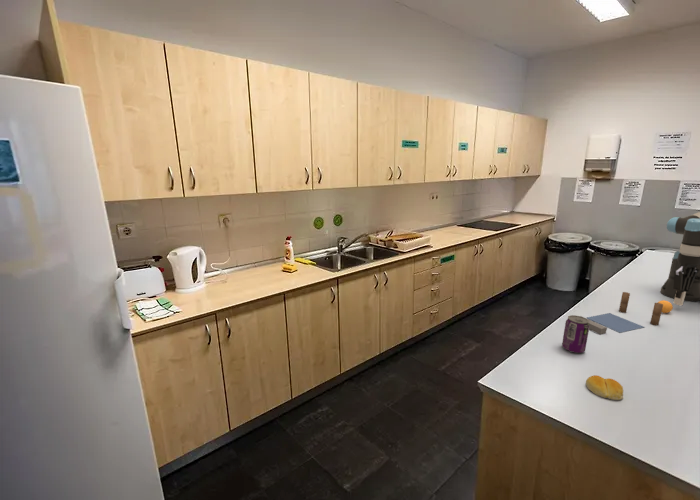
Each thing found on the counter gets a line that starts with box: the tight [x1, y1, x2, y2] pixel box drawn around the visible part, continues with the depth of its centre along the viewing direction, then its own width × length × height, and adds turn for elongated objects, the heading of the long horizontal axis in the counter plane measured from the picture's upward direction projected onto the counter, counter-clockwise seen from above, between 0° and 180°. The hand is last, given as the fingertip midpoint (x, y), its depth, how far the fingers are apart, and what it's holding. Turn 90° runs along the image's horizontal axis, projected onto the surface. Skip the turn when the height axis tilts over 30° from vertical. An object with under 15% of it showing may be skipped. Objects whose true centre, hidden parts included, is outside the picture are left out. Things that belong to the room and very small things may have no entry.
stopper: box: [580, 315, 608, 335], centre depth 137 cm, size 3×11×2 cm, turn 18°
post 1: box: [618, 291, 631, 314], centre depth 150 cm, size 3×3×9 cm
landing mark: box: [586, 312, 645, 334], centre depth 141 cm, size 14×14×1 cm
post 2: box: [649, 302, 663, 326], centre depth 139 cm, size 3×3×9 cm
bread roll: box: [585, 375, 624, 401], centre depth 100 cm, size 8×9×4 cm
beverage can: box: [561, 314, 590, 354], centre depth 121 cm, size 7×7×12 cm
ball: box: [657, 299, 674, 314], centre depth 149 cm, size 6×6×6 cm
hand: (677, 304), depth 152 cm, fingers closed
